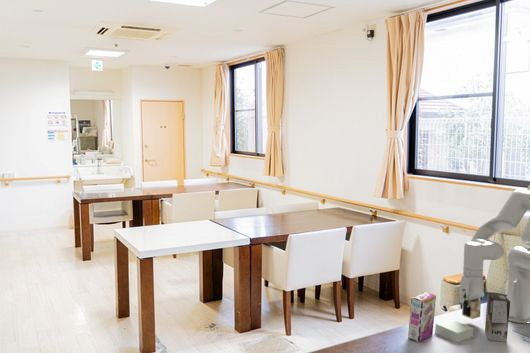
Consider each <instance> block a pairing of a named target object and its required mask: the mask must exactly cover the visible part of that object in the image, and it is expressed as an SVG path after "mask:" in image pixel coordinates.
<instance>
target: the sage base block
mask: <svg viewBox="0 0 530 353" xmlns="http://www.w3.org/2000/svg"><path fill="white" fill-rule="evenodd" d="M434 328H435V329H434V333H436V334H437V335H440V336H441V337H444V338H446V339H448V340H451V341H453V342H455V343H459V342H461V341H465V340H467V339H471V338H473V337H474V327H472V326H470V325H468V324H465V323H461V322H460V321H457V320H454V319H452V318H451V319H448V320H444V321H440V322H438V323H437V322H436V323H435V327H434Z"/></svg>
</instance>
